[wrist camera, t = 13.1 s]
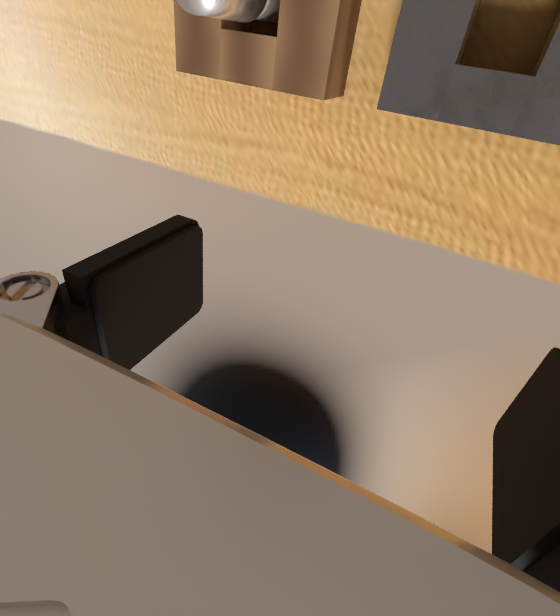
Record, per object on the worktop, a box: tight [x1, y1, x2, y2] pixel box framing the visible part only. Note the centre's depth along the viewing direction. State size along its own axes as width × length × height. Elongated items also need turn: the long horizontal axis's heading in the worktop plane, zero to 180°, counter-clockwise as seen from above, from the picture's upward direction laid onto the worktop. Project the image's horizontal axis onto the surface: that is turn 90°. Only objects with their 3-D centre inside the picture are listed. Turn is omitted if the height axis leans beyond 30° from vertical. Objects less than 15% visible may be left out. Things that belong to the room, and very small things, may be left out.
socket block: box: [377, 0, 560, 145], centre depth 25 cm, size 14×12×4 cm
